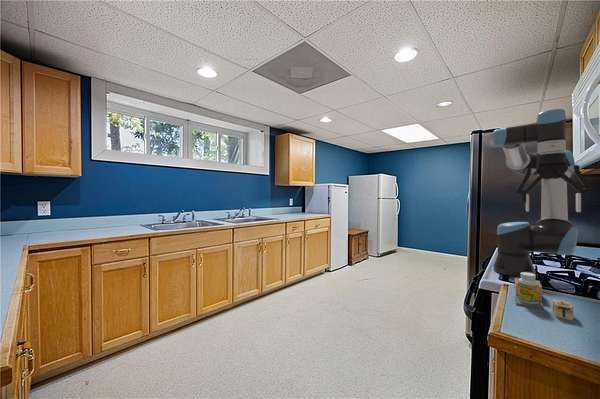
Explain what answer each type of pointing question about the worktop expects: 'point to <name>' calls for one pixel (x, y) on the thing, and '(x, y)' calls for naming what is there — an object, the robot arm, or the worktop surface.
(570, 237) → the robot arm
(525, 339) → the worktop surface
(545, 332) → the worktop surface
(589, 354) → the worktop surface
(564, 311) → the letter cube
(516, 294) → the pink square bin
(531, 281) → the supplement bottle
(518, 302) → the slate coaster
